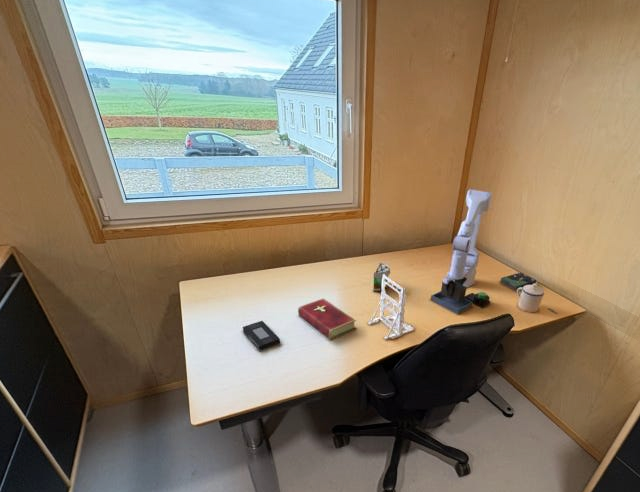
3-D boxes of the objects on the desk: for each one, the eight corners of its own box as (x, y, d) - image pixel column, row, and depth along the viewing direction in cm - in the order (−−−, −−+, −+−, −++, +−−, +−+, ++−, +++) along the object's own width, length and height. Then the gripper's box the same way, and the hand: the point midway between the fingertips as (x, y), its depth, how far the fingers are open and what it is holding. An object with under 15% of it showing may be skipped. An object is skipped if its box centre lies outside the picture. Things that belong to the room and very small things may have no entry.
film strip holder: (417, 331, 139) (423, 284, 128) (387, 341, 132) (391, 293, 121) (395, 313, 148) (399, 269, 137) (366, 322, 141) (368, 276, 131)
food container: (386, 295, 161) (387, 275, 156) (372, 293, 162) (373, 273, 157) (391, 283, 171) (392, 263, 166) (378, 281, 172) (379, 262, 167)
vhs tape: (259, 351, 122) (259, 346, 121) (243, 331, 131) (242, 326, 130) (280, 343, 127) (279, 338, 126) (262, 325, 136) (262, 320, 134)
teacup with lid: (542, 309, 159) (551, 286, 152) (529, 314, 154) (537, 290, 148) (521, 298, 167) (527, 275, 161) (507, 302, 162) (514, 279, 156)
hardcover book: (329, 340, 130) (329, 330, 128) (298, 315, 142) (297, 306, 140) (355, 328, 137) (355, 319, 135) (323, 306, 150) (323, 297, 147)
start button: (480, 294, 161) (481, 291, 160) (487, 297, 158) (488, 294, 157) (476, 296, 158) (476, 293, 157) (483, 300, 156) (483, 296, 155)
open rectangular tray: (444, 293, 166) (445, 289, 164) (472, 307, 157) (473, 302, 155) (430, 300, 160) (431, 295, 158) (457, 314, 151) (458, 309, 149)
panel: (471, 295, 166) (473, 288, 164) (490, 304, 160) (492, 297, 158) (463, 299, 162) (464, 292, 160) (482, 308, 156) (484, 301, 154)
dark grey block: (446, 291, 161) (448, 278, 157) (464, 299, 155) (467, 287, 152) (440, 293, 158) (442, 281, 155) (458, 302, 152) (460, 290, 149)
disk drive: (518, 277, 187) (499, 282, 179) (520, 272, 185) (500, 277, 178) (535, 285, 180) (516, 291, 172) (537, 280, 178) (517, 286, 171)
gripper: (460, 257, 155) (455, 285, 162) (439, 265, 146) (434, 295, 154) (474, 263, 151) (468, 291, 158) (453, 271, 142) (447, 301, 149)
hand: (452, 293), depth 156 cm, fingers closed on dark grey block, 4 cm apart
